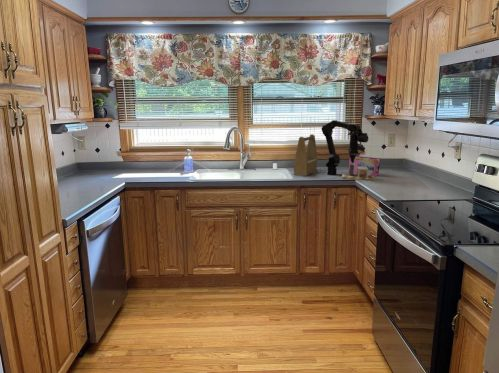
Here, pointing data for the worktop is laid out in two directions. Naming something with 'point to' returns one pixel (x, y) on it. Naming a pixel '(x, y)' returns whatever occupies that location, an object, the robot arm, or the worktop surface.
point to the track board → (356, 177)
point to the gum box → (367, 164)
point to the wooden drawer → (351, 171)
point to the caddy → (305, 157)
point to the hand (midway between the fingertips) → (352, 162)
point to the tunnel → (362, 169)
